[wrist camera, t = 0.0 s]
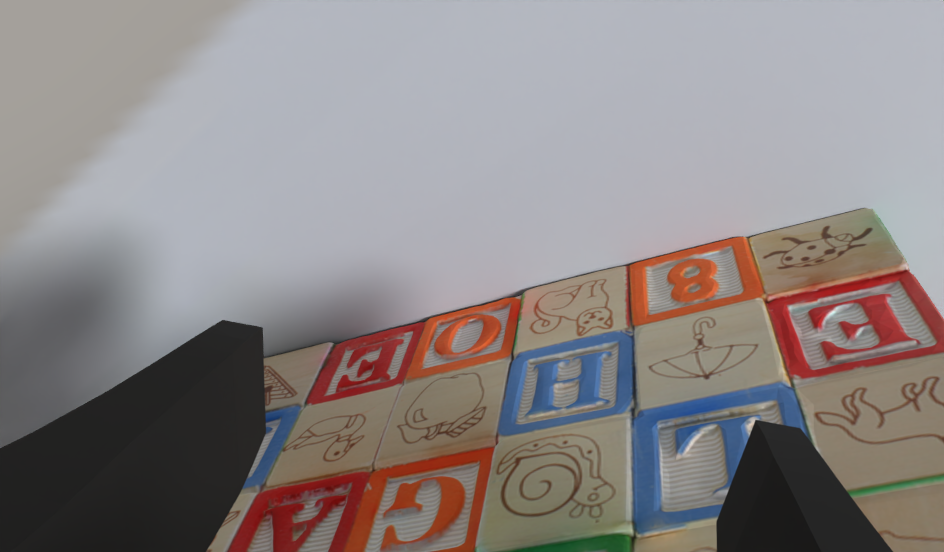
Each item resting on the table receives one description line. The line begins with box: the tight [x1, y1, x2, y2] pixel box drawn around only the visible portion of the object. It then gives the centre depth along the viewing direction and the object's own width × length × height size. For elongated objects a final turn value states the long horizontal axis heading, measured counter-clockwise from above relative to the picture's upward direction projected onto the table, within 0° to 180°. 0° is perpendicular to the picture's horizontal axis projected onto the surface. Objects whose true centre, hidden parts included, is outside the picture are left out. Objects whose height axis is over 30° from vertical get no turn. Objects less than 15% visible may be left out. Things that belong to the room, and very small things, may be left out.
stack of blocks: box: [206, 208, 944, 552], centre depth 19 cm, size 21×6×12 cm, turn 111°
